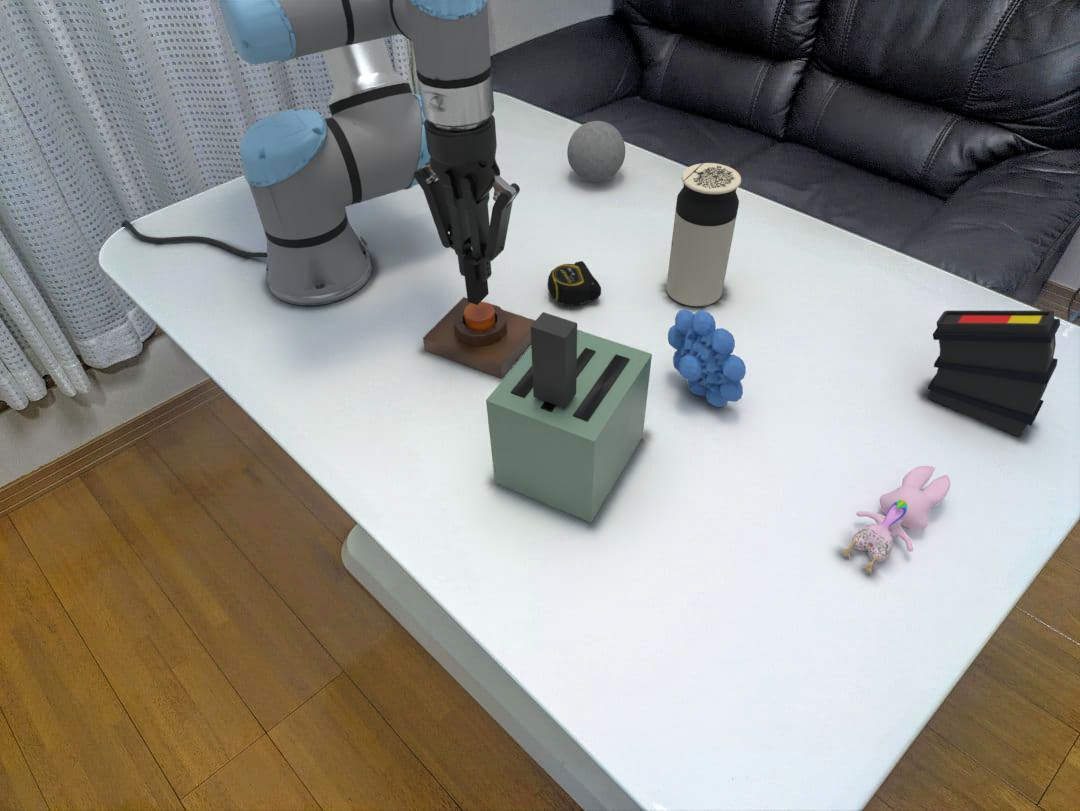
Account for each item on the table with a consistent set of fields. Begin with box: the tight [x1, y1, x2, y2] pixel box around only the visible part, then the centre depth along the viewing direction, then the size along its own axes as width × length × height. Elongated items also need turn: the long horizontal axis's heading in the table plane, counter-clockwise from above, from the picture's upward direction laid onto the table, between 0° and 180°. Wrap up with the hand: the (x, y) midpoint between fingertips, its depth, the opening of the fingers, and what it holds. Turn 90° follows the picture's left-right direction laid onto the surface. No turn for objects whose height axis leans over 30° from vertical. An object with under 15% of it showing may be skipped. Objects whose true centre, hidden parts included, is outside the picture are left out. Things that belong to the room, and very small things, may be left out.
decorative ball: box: [566, 120, 626, 183], centre depth 126 cm, size 10×10×10 cm
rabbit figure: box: [841, 465, 951, 575], centre depth 75 cm, size 6×6×15 cm
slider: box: [530, 311, 578, 408], centre depth 69 cm, size 4×2×9 cm, turn 61°
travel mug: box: [665, 162, 742, 307], centre depth 100 cm, size 8×8×18 cm
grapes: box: [667, 309, 747, 408], centre depth 87 cm, size 12×7×12 cm, turn 39°
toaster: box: [485, 329, 653, 523], centre depth 80 cm, size 12×14×13 cm
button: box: [464, 301, 495, 330], centre depth 96 cm, size 4×4×2 cm
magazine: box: [926, 310, 1061, 437], centre depth 84 cm, size 4×13×15 cm, turn 50°
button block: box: [422, 296, 536, 379], centre depth 98 cm, size 12×10×4 cm
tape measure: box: [547, 260, 602, 306], centre depth 105 cm, size 7×7×4 cm
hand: (478, 297), depth 94 cm, fingers closed
